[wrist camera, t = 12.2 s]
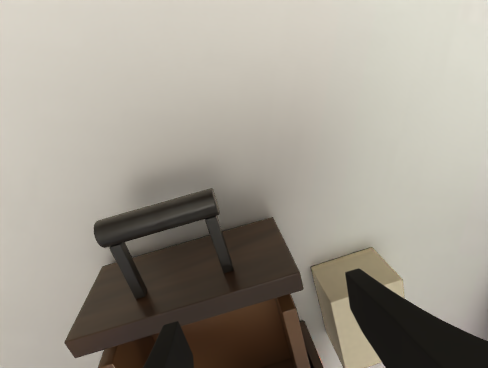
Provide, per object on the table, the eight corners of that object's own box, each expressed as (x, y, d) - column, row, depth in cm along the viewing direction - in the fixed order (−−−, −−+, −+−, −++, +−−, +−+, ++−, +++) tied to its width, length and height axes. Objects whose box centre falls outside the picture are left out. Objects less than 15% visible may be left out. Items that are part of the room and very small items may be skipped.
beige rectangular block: (326, 332, 27) (346, 374, 23) (310, 266, 24) (330, 302, 20) (381, 314, 27) (410, 353, 23) (372, 246, 24) (403, 279, 20)
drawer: (68, 203, 19) (9, 263, 13) (257, 150, 19) (281, 185, 13) (168, 390, 26) (158, 483, 20) (304, 348, 26) (334, 427, 20)
